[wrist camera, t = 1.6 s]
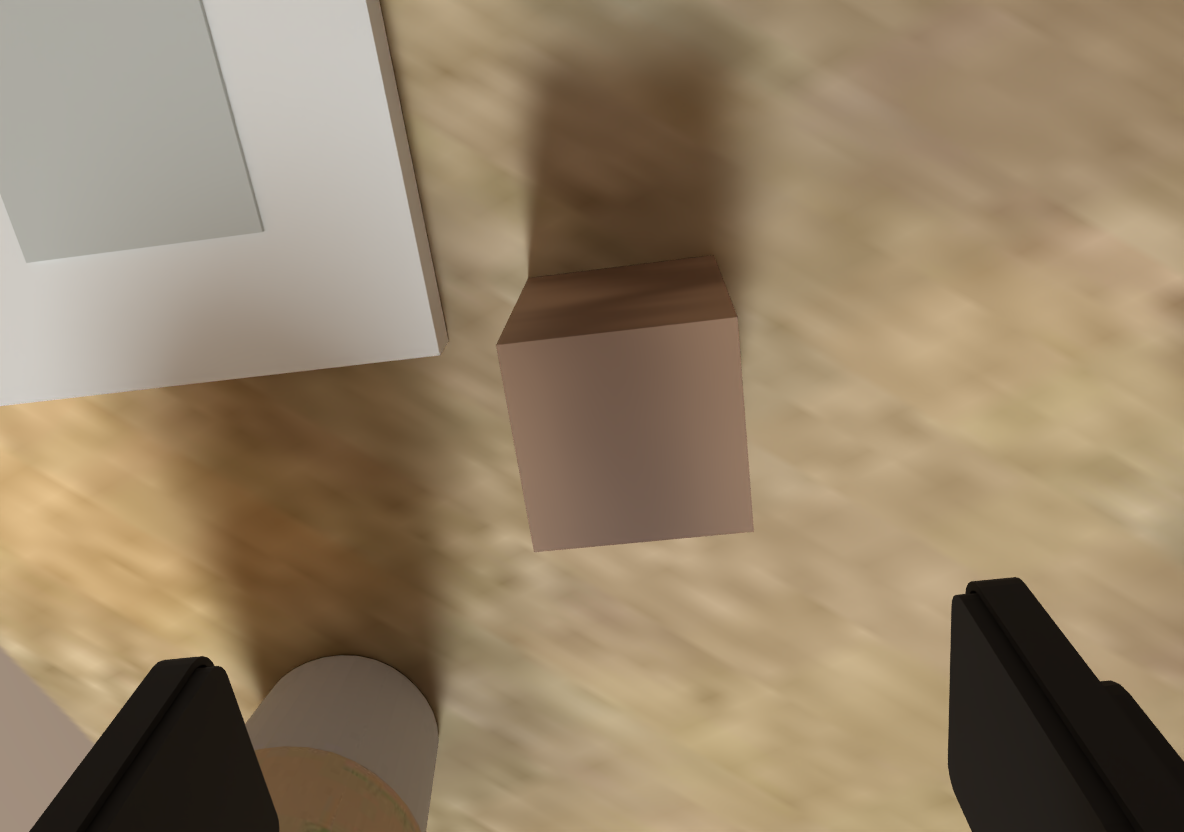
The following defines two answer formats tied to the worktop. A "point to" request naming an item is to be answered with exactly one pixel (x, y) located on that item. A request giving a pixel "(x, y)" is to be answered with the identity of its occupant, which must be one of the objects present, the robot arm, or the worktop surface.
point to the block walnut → (628, 405)
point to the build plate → (203, 196)
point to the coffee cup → (346, 748)
